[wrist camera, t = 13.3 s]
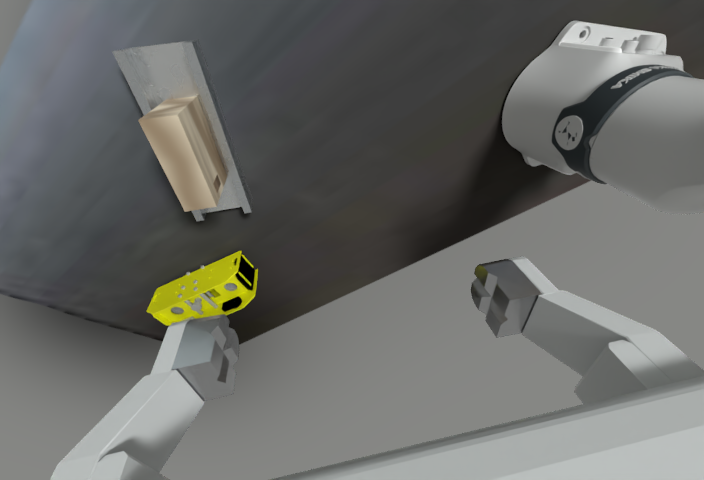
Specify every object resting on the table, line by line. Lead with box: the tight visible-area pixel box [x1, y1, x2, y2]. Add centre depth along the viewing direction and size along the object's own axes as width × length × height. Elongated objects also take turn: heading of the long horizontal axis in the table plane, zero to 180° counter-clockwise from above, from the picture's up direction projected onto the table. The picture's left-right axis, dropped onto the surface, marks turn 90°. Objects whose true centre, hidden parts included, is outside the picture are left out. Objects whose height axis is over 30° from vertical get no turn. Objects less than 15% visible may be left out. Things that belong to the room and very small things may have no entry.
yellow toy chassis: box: [146, 251, 258, 325], centre depth 48 cm, size 16×6×8 cm, turn 112°
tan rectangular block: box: [138, 96, 227, 212], centre depth 34 cm, size 4×10×8 cm, turn 5°
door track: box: [112, 40, 253, 221], centre depth 37 cm, size 8×20×3 cm, turn 5°
